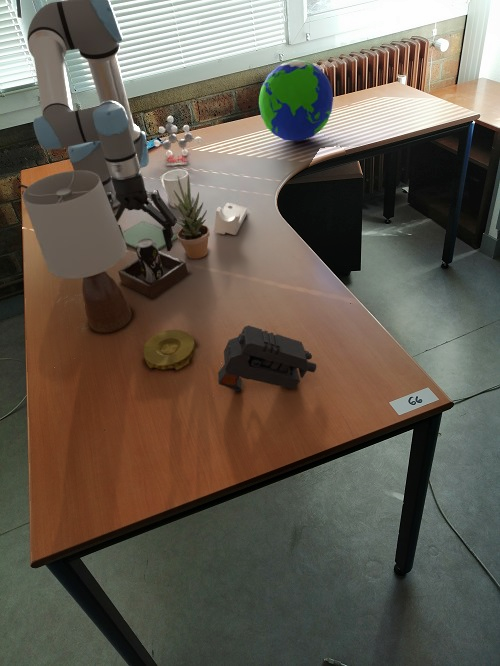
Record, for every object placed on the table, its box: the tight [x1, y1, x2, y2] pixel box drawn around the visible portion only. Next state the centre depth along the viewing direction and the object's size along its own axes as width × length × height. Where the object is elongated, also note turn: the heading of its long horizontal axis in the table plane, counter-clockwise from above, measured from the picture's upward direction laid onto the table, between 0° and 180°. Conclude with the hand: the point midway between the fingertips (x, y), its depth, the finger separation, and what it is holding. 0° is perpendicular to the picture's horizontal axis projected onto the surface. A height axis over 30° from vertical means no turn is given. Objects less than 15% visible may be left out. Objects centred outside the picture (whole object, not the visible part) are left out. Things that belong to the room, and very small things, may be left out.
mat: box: [122, 221, 178, 251], centre depth 161 cm, size 18×12×1 cm, turn 50°
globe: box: [258, 59, 334, 142], centre depth 202 cm, size 30×30×30 cm
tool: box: [217, 324, 317, 392], centre depth 105 cm, size 6×19×15 cm, turn 95°
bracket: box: [213, 202, 248, 236], centre depth 160 cm, size 13×7×8 cm, turn 165°
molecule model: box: [153, 115, 202, 167], centre depth 204 cm, size 20×16×16 cm
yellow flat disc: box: [142, 329, 196, 371], centre depth 118 cm, size 12×12×2 cm
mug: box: [159, 168, 193, 209], centre depth 175 cm, size 11×9×10 cm
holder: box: [117, 250, 189, 300], centre depth 142 cm, size 14×14×4 cm
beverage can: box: [135, 238, 165, 284], centre depth 139 cm, size 6×6×12 cm
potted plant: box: [174, 174, 211, 260], centre depth 143 cm, size 10×10×25 cm
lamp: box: [22, 170, 132, 334], centre depth 119 cm, size 19×19×37 cm
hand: (146, 248), depth 137 cm, fingers open, 13 cm apart
